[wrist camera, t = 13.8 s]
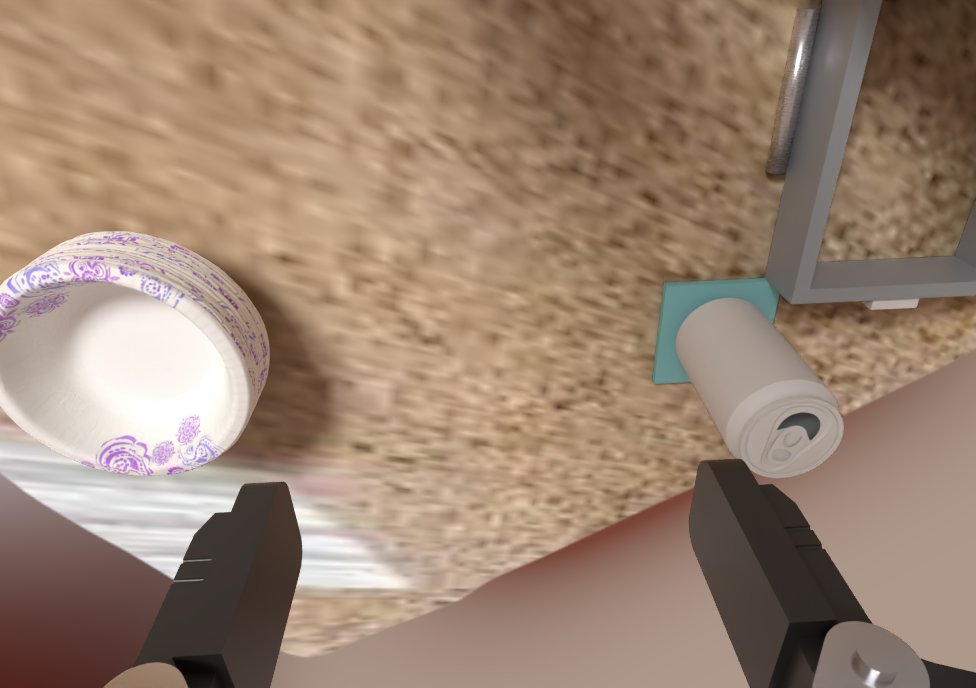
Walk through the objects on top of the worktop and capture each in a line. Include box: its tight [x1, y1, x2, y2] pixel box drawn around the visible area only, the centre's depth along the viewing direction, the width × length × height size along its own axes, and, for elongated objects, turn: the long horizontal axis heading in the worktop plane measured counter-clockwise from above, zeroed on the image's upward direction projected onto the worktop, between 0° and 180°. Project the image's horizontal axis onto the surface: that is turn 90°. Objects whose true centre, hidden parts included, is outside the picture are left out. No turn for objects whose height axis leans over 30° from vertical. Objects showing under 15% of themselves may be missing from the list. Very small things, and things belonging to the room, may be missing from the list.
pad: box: [652, 278, 780, 384], centre depth 46 cm, size 8×8×1 cm
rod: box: [766, 8, 820, 174], centre depth 38 cm, size 9×1×1 cm
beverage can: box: [676, 298, 844, 478], centre depth 40 cm, size 6×6×12 cm
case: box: [765, 0, 976, 310], centre depth 38 cm, size 19×14×4 cm
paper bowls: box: [0, 231, 270, 476], centre depth 40 cm, size 15×15×8 cm
